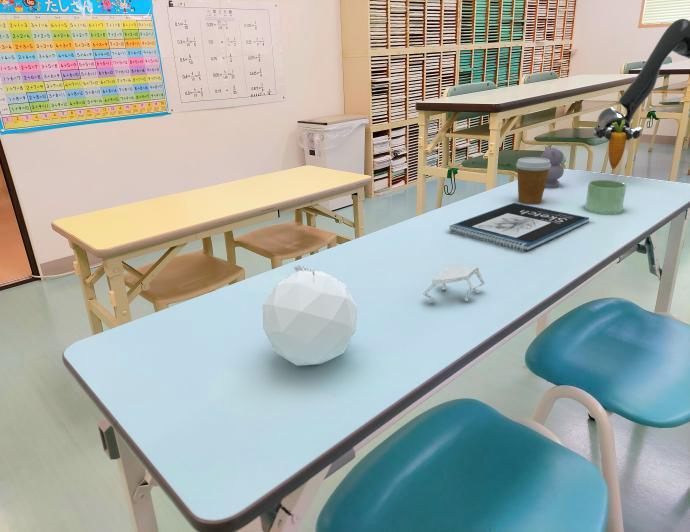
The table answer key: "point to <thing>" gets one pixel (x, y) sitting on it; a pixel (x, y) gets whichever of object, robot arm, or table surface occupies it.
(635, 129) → the robot arm
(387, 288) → the table surface
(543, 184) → the disposable coffee cup
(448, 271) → the white legged piece
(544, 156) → the cat figurine
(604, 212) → the green cup
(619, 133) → the carrot
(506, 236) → the sketchbook
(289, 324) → the geodesic sphere
